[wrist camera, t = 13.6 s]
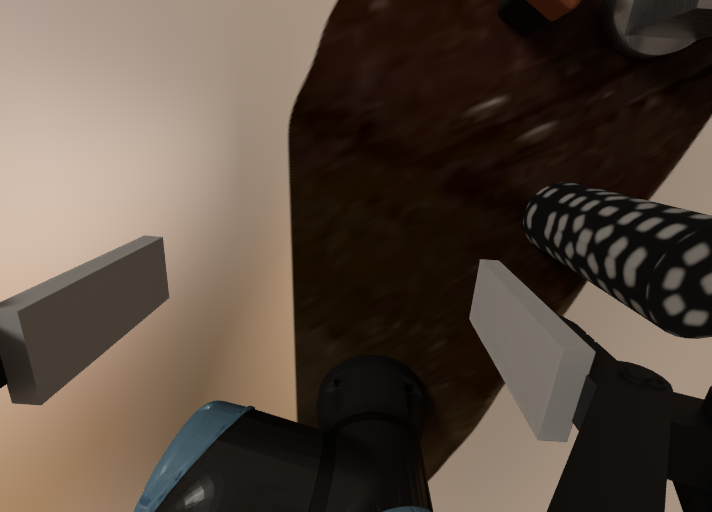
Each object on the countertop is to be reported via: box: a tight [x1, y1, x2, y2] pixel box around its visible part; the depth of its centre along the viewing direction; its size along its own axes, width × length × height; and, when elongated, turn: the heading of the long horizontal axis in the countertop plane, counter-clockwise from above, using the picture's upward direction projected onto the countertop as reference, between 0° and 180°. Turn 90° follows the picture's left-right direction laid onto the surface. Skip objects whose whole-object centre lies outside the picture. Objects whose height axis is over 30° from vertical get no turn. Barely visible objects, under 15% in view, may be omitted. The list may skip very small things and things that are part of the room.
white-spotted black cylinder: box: [523, 182, 712, 339], centre depth 34 cm, size 8×8×20 cm
